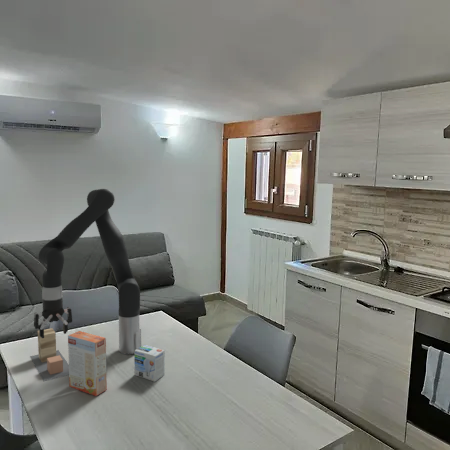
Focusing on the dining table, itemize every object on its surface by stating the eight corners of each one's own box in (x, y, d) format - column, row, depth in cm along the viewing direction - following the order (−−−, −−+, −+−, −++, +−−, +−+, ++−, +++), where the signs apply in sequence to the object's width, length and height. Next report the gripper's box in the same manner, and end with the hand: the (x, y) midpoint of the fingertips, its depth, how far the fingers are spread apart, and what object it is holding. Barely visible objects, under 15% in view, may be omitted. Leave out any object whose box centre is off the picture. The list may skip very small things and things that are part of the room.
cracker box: (107, 389, 163) (106, 337, 160) (96, 397, 157) (94, 342, 155) (80, 380, 169) (79, 329, 166) (68, 387, 164) (67, 335, 161)
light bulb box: (133, 375, 174) (133, 350, 173) (144, 368, 180) (144, 344, 179) (155, 382, 169) (155, 356, 168) (165, 374, 175) (165, 349, 174)
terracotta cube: (63, 371, 175) (62, 359, 175) (50, 374, 172) (49, 362, 172) (60, 366, 179) (59, 355, 179) (47, 369, 177) (46, 358, 176)
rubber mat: (74, 374, 174) (74, 373, 174) (43, 382, 167) (43, 381, 167) (58, 350, 195) (58, 350, 195) (29, 357, 188) (29, 356, 188)
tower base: (56, 359, 186) (56, 345, 185) (41, 362, 183) (41, 349, 182) (53, 354, 191) (52, 341, 190) (38, 357, 188) (38, 344, 187)
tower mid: (56, 345, 185) (55, 332, 184) (41, 349, 182) (40, 335, 181) (52, 341, 190) (52, 328, 189) (38, 344, 187) (37, 330, 186)
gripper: (68, 291, 179) (69, 328, 181) (31, 296, 171) (33, 335, 173) (73, 296, 173) (74, 334, 175) (35, 302, 165) (36, 342, 167)
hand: (53, 335), depth 174 cm, fingers open, 8 cm apart
